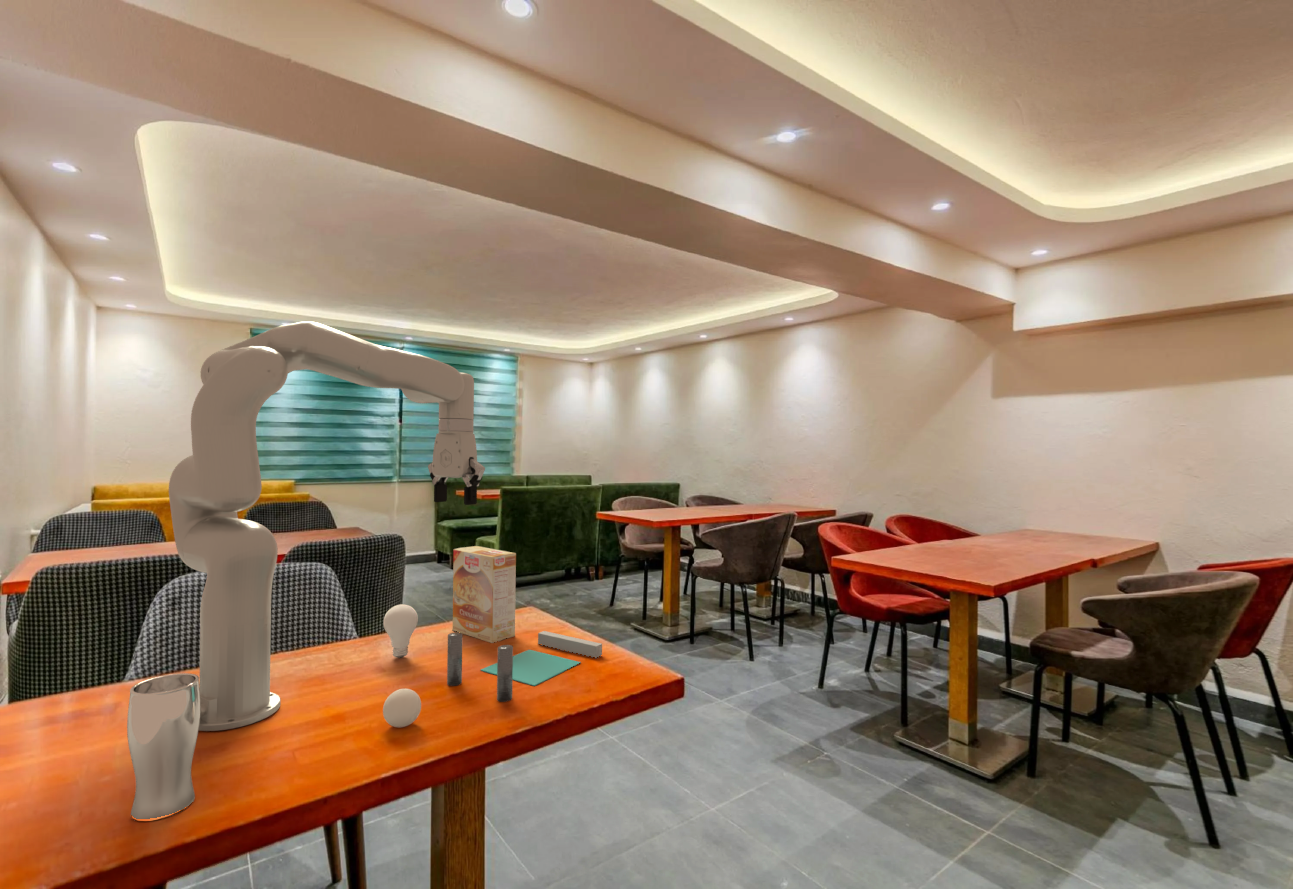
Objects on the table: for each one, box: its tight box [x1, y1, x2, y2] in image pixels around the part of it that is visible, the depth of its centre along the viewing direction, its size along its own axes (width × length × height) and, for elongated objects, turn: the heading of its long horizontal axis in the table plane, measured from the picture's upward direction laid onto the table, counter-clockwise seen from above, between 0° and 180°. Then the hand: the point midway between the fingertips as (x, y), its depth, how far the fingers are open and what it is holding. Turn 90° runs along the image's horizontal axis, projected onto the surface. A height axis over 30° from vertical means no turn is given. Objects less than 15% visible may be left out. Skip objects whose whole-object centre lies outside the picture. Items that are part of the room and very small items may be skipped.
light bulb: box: [382, 603, 419, 659], centre depth 125 cm, size 7×7×11 cm
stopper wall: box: [537, 630, 603, 659], centre depth 131 cm, size 2×16×2 cm, turn 59°
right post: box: [496, 644, 514, 703], centre depth 105 cm, size 3×3×9 cm
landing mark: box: [480, 649, 582, 687], centre depth 120 cm, size 14×14×1 cm
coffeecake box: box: [451, 545, 517, 644], centre depth 141 cm, size 15×7×20 cm, turn 53°
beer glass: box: [126, 672, 201, 819], centre depth 73 cm, size 7×7×15 cm
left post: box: [446, 632, 463, 687], centre depth 112 cm, size 3×3×9 cm
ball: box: [382, 688, 422, 728], centre depth 95 cm, size 6×6×6 cm
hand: (455, 503), depth 136 cm, fingers open, 9 cm apart
